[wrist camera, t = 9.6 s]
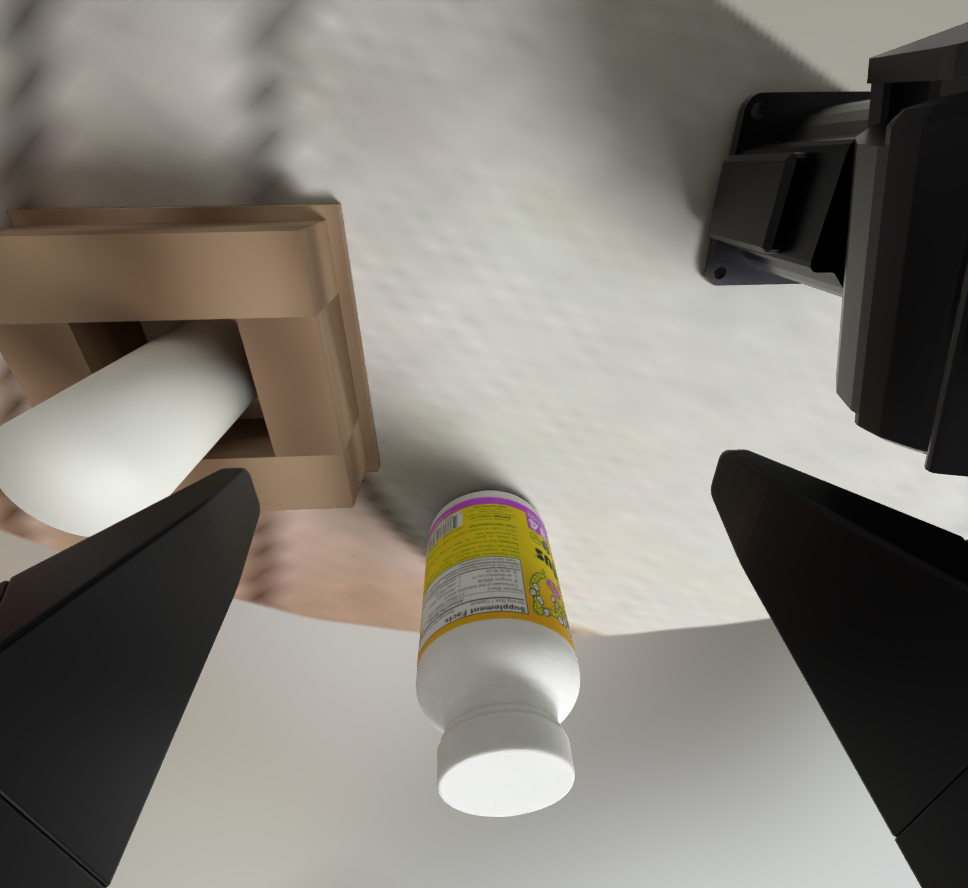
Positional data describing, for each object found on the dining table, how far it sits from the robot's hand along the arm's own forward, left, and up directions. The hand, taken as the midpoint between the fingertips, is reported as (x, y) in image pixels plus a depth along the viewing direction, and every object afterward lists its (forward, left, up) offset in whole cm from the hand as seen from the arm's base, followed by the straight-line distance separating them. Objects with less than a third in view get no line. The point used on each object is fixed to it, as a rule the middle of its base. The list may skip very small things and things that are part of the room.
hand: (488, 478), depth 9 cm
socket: (+11, +2, -13) cm, 17 cm away
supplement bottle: (-1, +13, -13) cm, 18 cm away
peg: (+11, +2, -12) cm, 17 cm away
